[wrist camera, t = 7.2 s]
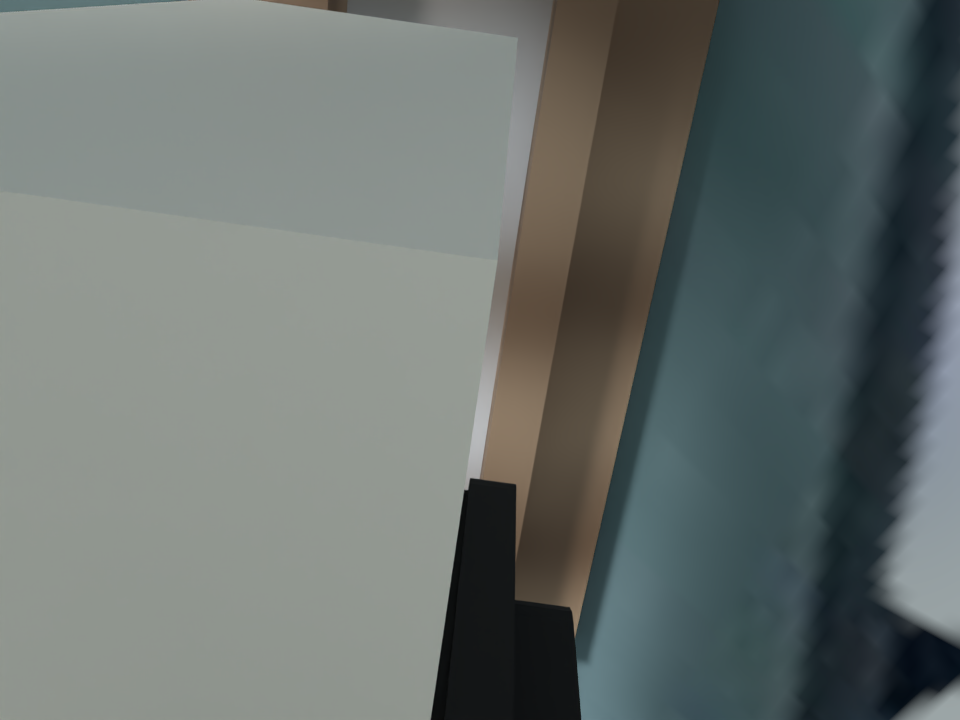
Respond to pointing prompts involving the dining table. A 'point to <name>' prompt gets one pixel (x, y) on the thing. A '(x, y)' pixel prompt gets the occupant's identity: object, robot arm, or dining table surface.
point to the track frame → (572, 249)
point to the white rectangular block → (238, 354)
